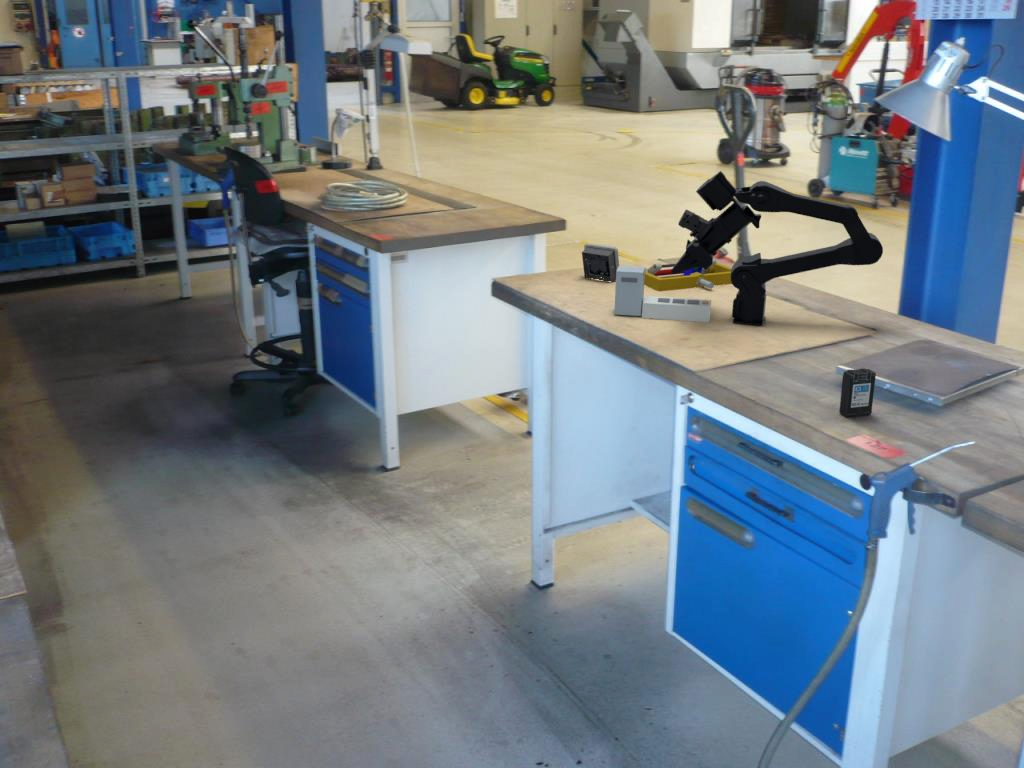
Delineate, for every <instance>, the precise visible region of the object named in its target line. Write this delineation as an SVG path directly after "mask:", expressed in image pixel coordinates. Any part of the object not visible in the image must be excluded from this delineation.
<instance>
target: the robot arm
mask: <svg viewBox="0 0 1024 768" xmlns="http://www.w3.org/2000/svg"><path fill="white" fill-rule="evenodd" d="M695 192H696V194H697V195H698V196H699V197H700V198H701V199H702V200H703V201H704V203H706V204H707V206H708V207H709V208H710V209H711V211H715V210H717V211H719V212H721V213H720V214H719V215H718V216H717V217H712V218H710V219H709V220H707V219H705V218H704V217H701V216H700V215H699V214H696V213H695V212H692V211H691V210H688V209H685V210H684V212H683V214H682V215H681V217H680V219H679V221H678V226H680V227H681V228H682V229H686V230H688V231H691V232H690V233H689V236H690V237H691V238H692V237H693V239H692V241H691V240H690V239H687V241H686V245H685V251H684V253H683V254H682V255H681V257H680V258H679V259H678V261H677V262H676V263H675V264H676V265H675V266H674V267H671V269H672V270H671V272H672V273H673V274H674V275H678V274H677V273H680V272H683V271H686V270H689V269H693V268H696V267H700V266H702V267H703V268H704V269H705V270H706V269H707V268H709V267H710V266H711V265H712V263H713V259H714V257H715V256H716V254H718V251H719V250H720V249H722V248H723V247H724V246H725V245H728V244H730V243H731V242H732V240H733V239H734V238H735V237H736V236H737V235H738V234H740V232H742V231H743V230H744V229H745V228H747V226H749V225H750V224H752V225H753V226H754V227H755V229H759V228H760V221H761V218H762V214H761V213H791V214H796V215H800V216H805V217H810V218H814V219H819V220H824V221H828V222H833V223H838V224H841V225H842V226H843V227H844V229H845V231H846V232H847V234H848V236H849V237H848V238H847V239H845V240H843V241H841V242H840V243H837V244H835V245H832V246H826V247H822V248H818V249H812V250H808V251H807V250H806V251H804V252H798V253H794V254H789V255H788V254H787V255H784V256H780V257H776V258H762V256H761V252H757V253H754V254H753V255H748V256H746V255H742V256H741V259H738V260H737V261H735V262H734V264H733V265H732V266H731V268H732V269H731V282H732V284H731V285H732V286H733V287H734V288H735V289H737V290H738V291H737V292H736V295H735V296H736V297H735V298H733V301H732V311H731V318H732V319H733V320H732V323H734V324H742V325H754V326H763V325H764V324H765V323H764V322H765V321H766V316H765V313H766V303H767V293H766V292H767V289H766V283H767V282H770V281H771V280H774V279H775V278H776V279H777V278H781V277H786V276H791V275H795V274H799V273H805V272H810V271H814V270H820V269H823V268H824V269H825V268H829V267H832V266H833V267H834V266H838V265H839V266H840V265H846V266H870V265H874V264H875V263H877V262H879V260H880V259H881V258H882V257H883V253H884V248H883V245H882V243H881V242H880V239H879V238H878V237H877V235H875V234H873V233H871V232H869V231H868V230H867V228H866V226H865V225H864V223H863V222H862V220H861V218H860V216H859V213H858V211H857V209H856V207H854V206H853V205H851V204H848V203H847V204H842V203H838V202H835V201H828V200H824V199H819V198H815V197H812V196H811V197H809V196H806V195H802V194H797V193H793V192H790V191H788V190H786V189H784V188H782V187H780V186H777V185H775V184H773V183H770V182H768V181H764V180H760V181H756V182H754V183H753V184H752V185H751V186H742V187H741V186H739V187H735V186H734V185H733V184H732V183H731V182H730V180H729V179H727V177H726V174H724V173H723V172H722V170H720V171H719V172H717V173H716V174H715V175H713V176H712V177H710V178H708V179H706V181H705V182H703V183H702V184H701V186H699V187H698V188H697V189H696V191H695ZM732 202H733V203H732ZM731 203H732V204H731ZM741 203H742V204H741ZM730 204H731V205H730ZM743 204H745V205H744V206H743ZM728 205H730V206H728ZM748 205H749V206H750V207H751V208H750V207H749V206H748ZM726 207H727V208H726ZM725 208H726V209H725ZM753 210H754V211H757V212H760V213H759V214H758V213H755V212H754V211H753ZM722 211H723V212H722Z"/></svg>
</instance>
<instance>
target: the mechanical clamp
mask: <svg viewBox="0 0 1024 768" xmlns="http://www.w3.org/2000/svg"><path fill="white" fill-rule="evenodd" d="M675 265H676V263H669V264H662V263H654V264H652V266H650V267H649V268H646V267H645V280H644V286H645V285H646V286H645V287H647V286H648V287H647V288H650V289H652V290H655V291H656V292H665V291H667V292H668V291H674V290H685V289H694V287H696V288H704V286H705V288H708V289H711V290H712V289H713V288H714V285H715V286H724V285H723V284H725V285H733V284H732V282H731V269H732V267H730V266H727V265H724V264H722V263H719V262H718V261H717V259H716V258H713V263H712V265H711V266H710V267H709V268H707V269H706V270H705V269H704V268H703V267H702V266H700V267H696V268H693V269H689V270H686V271H683V272H680V273H677V274H676V275H679V276H673V275H675V274H673V273H672V272H671V270H672V268H673V267H674V266H675ZM663 268H664V269H663ZM665 268H666V269H665ZM667 268H668V269H667ZM669 268H670V269H669ZM671 275H672V276H671ZM680 275H682V276H680ZM661 276H669V277H661ZM670 276H671V277H670Z"/></svg>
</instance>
